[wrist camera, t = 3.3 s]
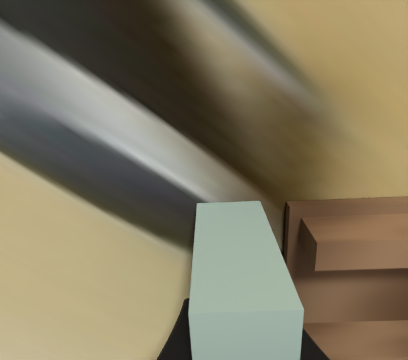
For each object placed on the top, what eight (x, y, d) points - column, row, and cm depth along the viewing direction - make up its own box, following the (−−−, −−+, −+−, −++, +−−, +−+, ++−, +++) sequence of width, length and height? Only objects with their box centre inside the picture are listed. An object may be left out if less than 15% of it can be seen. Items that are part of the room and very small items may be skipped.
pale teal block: (197, 203, 12) (188, 313, 7) (259, 200, 12) (303, 309, 7) (206, 362, 15) (206, 528, 10) (257, 360, 15) (286, 528, 10)
